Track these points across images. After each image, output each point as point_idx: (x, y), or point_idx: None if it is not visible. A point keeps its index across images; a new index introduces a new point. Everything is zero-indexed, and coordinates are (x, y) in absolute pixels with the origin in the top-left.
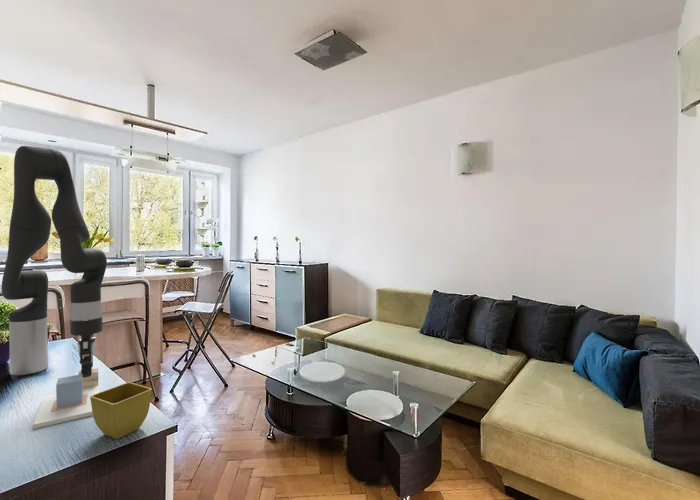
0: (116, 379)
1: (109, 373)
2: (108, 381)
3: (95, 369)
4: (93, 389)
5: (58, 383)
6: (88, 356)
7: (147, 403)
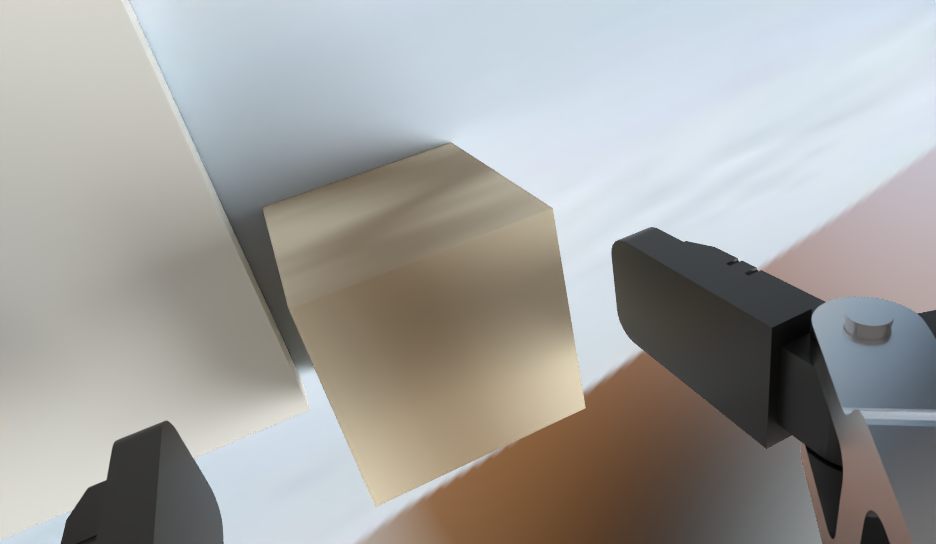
0: None
1: None
2: None
3: (485, 429)
4: (177, 414)
5: None
6: (761, 390)
7: None
